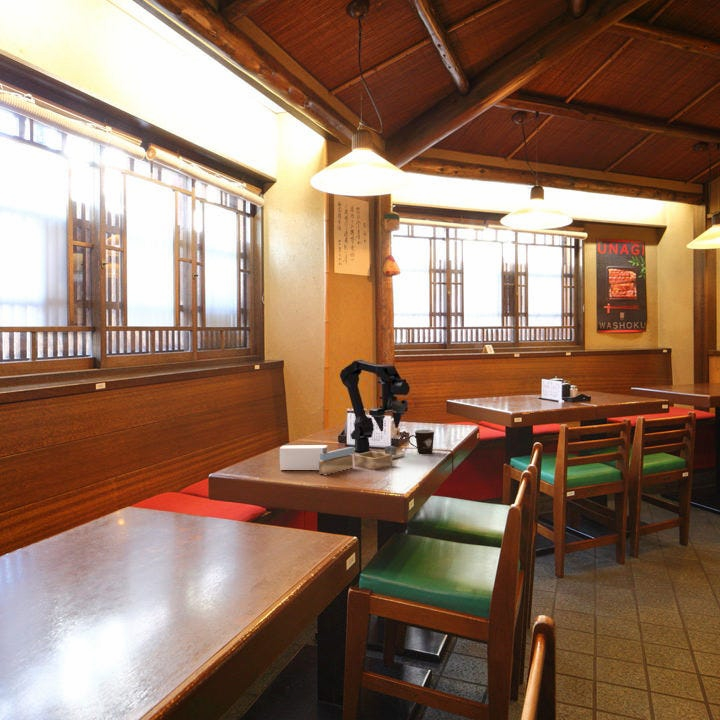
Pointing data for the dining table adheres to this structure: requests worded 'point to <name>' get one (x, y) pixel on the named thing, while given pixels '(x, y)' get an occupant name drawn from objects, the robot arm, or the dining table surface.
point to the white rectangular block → (300, 457)
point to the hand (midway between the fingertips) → (389, 429)
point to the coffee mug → (423, 441)
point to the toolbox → (373, 460)
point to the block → (336, 453)
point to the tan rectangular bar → (335, 464)
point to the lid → (392, 452)
